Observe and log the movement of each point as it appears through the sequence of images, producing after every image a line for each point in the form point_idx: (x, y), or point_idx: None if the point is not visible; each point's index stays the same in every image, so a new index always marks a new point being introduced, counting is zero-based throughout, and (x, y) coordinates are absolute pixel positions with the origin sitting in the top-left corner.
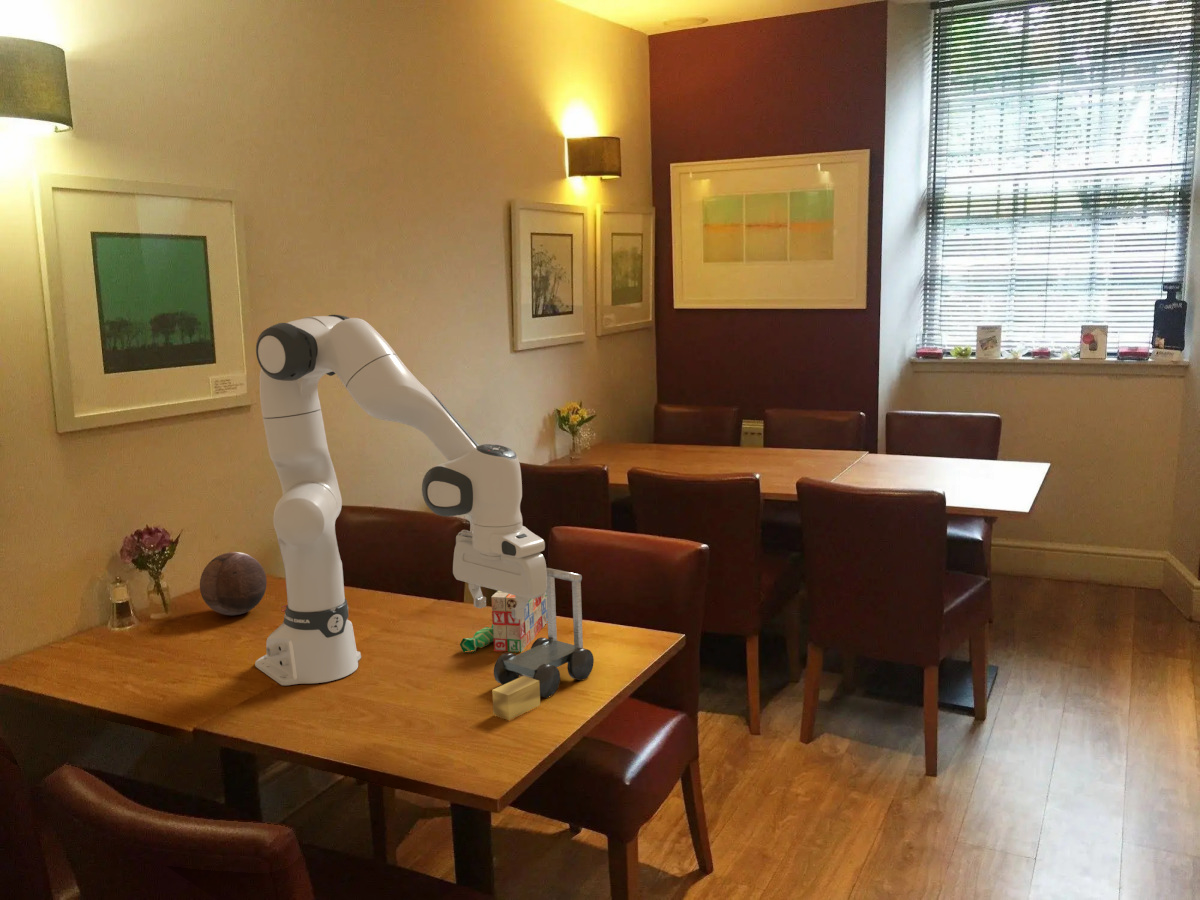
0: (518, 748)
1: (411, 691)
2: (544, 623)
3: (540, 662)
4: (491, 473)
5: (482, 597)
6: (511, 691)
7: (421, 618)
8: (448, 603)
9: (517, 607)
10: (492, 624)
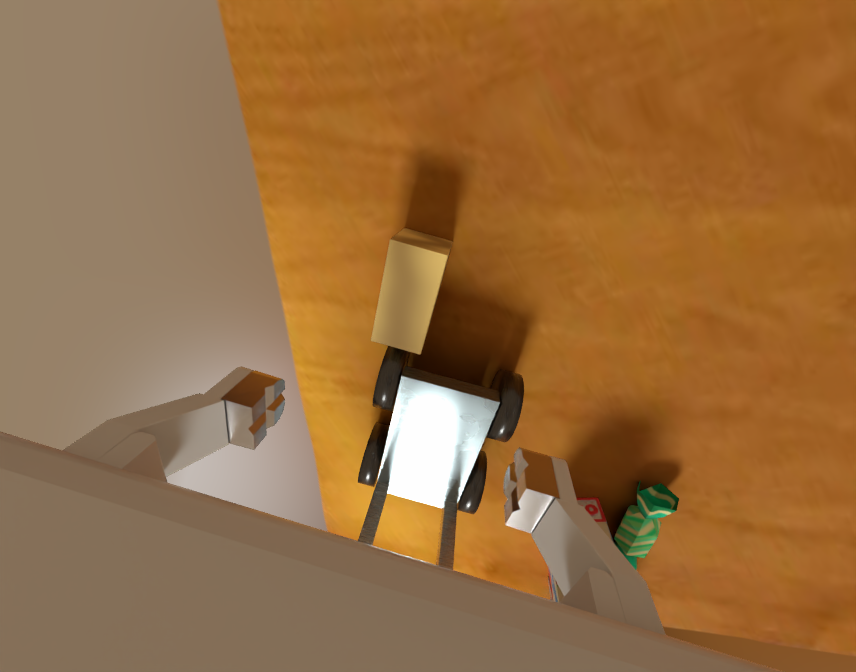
0: (305, 101)
1: (719, 291)
2: (549, 587)
3: (412, 413)
4: None
5: (524, 519)
6: (395, 263)
7: (820, 592)
8: (776, 640)
9: (185, 404)
10: (635, 568)
